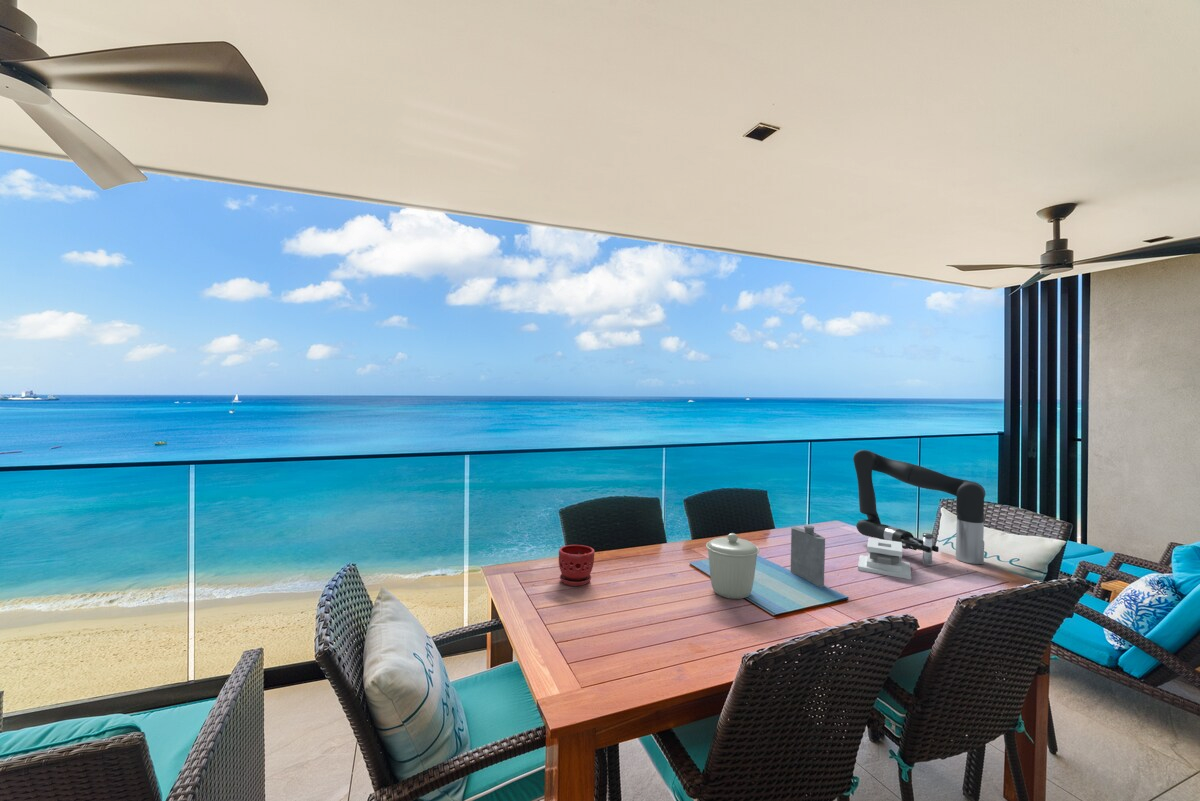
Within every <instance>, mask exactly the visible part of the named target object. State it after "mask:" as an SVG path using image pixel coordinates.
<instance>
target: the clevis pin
mask: <svg viewBox="0 0 1200 801" xmlns="http://www.w3.org/2000/svg"><path fill="white" fill-rule="evenodd" d="M933 538H934V534H933V533H928V532H927V533H925V532H924V533H922V540H923V545H925V546H928V547H931V553H928V552H925V551H922V564H924V565H928V566H932V565H933V551H932V543H933ZM933 544H934V543H933Z"/></svg>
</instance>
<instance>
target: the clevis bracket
mask: <svg viewBox="0 0 1200 801" xmlns="http://www.w3.org/2000/svg"><path fill="white" fill-rule="evenodd" d="M867 537H868V539H867V546H866V552H867V555H863V554H860V555H859V559H858V562H857V563H858V565H857V571H861V572H867V573H873V574H877V575H883V576H884V575H885V576H889V577H895V578H901V579H905V580H906V579H907V580H912V571H911V569H912V568H911V564H910V562H907V561H903V560H902V558H903V548H902V542H897V541H890V540H883V539H878V538H873V537H869V536H867Z"/></svg>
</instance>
